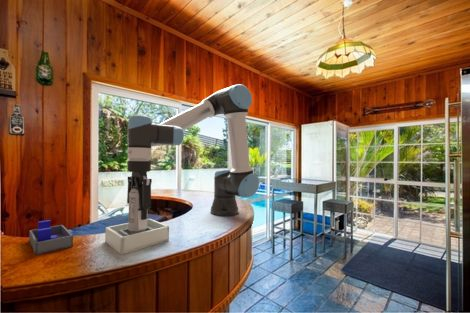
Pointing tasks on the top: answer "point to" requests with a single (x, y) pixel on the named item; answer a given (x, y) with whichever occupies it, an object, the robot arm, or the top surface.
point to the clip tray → (60, 242)
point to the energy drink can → (134, 212)
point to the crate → (136, 236)
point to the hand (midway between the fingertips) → (138, 226)
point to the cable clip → (45, 231)
